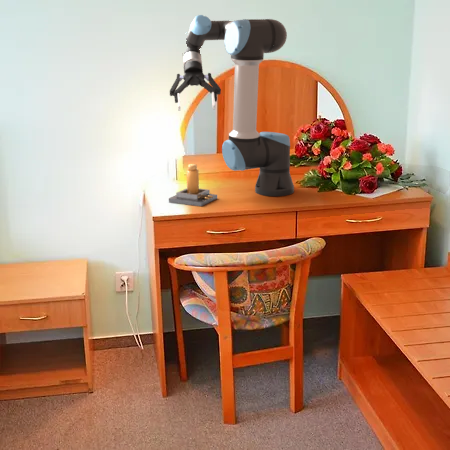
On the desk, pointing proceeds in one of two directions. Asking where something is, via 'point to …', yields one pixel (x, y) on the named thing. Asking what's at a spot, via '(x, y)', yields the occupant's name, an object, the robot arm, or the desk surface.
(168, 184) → the desk surface
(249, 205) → the desk surface
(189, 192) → the wooden peg doll
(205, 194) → the plate
